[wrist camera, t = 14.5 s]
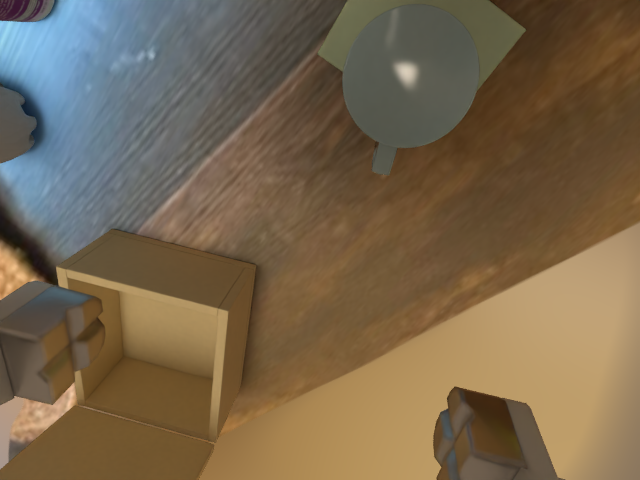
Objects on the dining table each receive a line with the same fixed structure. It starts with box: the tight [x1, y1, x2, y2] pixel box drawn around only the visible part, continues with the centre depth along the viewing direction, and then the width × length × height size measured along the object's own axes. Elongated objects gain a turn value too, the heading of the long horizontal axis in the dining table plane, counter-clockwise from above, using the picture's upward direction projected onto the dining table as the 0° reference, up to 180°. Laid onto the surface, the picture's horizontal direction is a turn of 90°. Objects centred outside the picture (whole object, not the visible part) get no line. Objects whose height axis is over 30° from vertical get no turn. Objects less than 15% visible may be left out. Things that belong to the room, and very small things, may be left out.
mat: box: [317, 0, 526, 92], centre depth 25 cm, size 8×10×1 cm
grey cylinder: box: [342, 4, 480, 175], centre depth 21 cm, size 7×5×11 cm
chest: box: [56, 229, 256, 443], centre depth 36 cm, size 16×14×7 cm
